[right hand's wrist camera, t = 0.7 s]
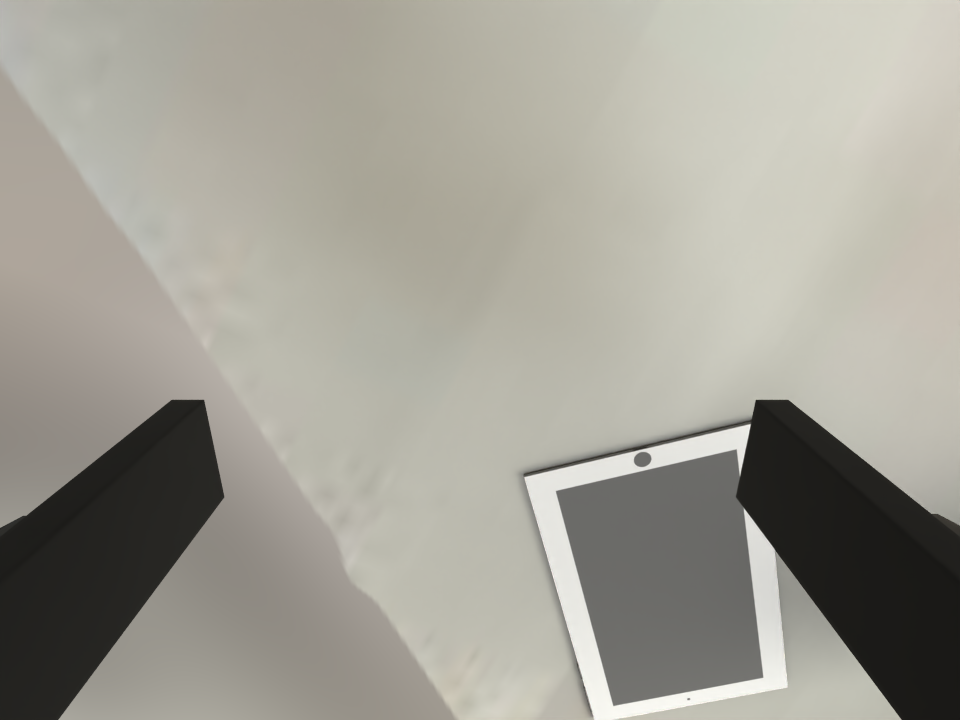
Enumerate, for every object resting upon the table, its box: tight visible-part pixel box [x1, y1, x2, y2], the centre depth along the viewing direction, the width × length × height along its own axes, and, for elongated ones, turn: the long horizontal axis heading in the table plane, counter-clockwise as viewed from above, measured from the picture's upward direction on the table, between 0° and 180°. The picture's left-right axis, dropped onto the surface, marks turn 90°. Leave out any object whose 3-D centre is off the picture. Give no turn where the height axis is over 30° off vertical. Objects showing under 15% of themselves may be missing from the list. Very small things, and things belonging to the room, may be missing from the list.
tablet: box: [524, 422, 788, 720], centre depth 50 cm, size 32×20×1 cm, turn 16°
